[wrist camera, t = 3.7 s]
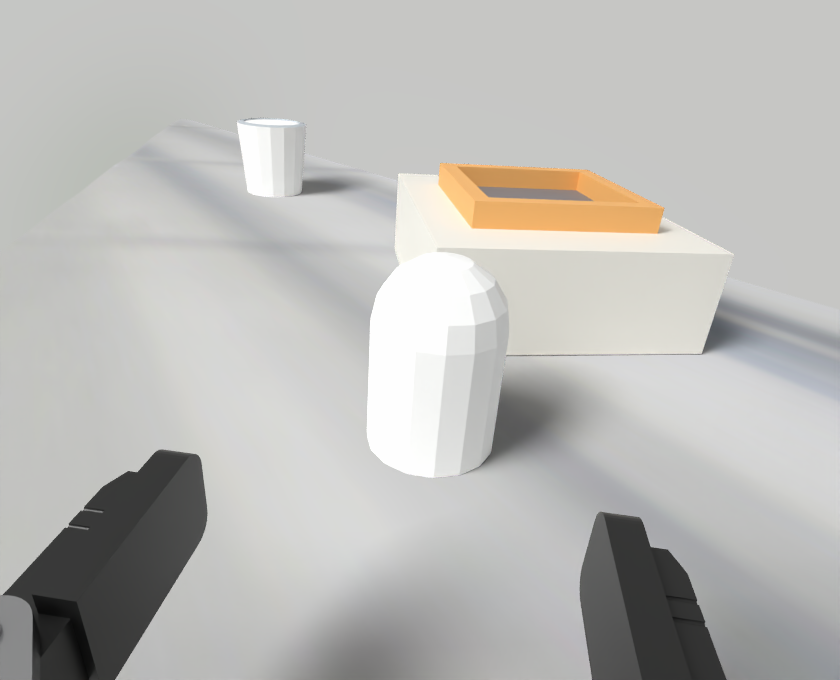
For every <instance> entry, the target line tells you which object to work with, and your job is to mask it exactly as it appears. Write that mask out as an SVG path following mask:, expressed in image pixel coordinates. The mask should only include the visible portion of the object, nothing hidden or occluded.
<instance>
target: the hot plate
mask: <svg viewBox="0 0 840 680" xmlns="http://www.w3.org/2000/svg"><path fill="white" fill-rule="evenodd" d="M663 211H664V207H661V206H659V205H657V204H655V203H653V202H651V201H649V200H647V199H645V198H643V197H641V196H639V195H637V194H635V193H633V192H631V191H629V190H627V189H625V188H623V187H621V186H619V185H617V184H615V183H613V182H611V181H609V180H607V179H605V178H603V177H601V176H599V175H597V174H595V173H593V172H590V171H588V170H579V169H578V170H577V169H557V168H535V167H514V166H492V165H470V164H449V163H448V164H447V163H440V171H439V175H424V174H401V173H399V174H398V192H397V212H396V231H395V252H396V255H397V258H398V261H399V265H402V264H404V263H406V262H409V261H411V260H413V259H415V258H417V257H419V256H421V255H423V254H426V253H432V252H448V253H455V254H459V255H463V256H466V257H468V258H470V259H472V260H473V261H474V262H476V263H477V264H479V265H480V266H482V267H483V268H484V269H486V270H487V271H489V272H490V273H491V274H492V275H493V276H494V278H495V279H496V280H497V282H498V284H499V286H500V288H501V290H502V291H503V293H504V295H505V297H506V299H507V300H508V313H509V339H508V346H507V352H506V355H624V354H702V351H703V348H704V345H705V342H706V339H707V336H708V333H709V330H710V327H711V324H712V321H713V318H714V315H715V312H716V309H717V306H718V303H719V300H720V297H721V294H722V291H723V288H724V285H725V282H726V279H727V276H728V273H729V270H730V267H731V263H732V260H733V257H734V254H733V253H731V252H729V251H727V250H725V249H723V248H721V247H719V246H717V245H716V244H714V243H712V242H710V241H708V240H706V239H704V238H702V237H700V236H698V235H696V234H694V233H692V232H690V231H689V230H687V229H685V228H683V227H681V226H679V225H677V224H675V223H673V222H672V221H670V220H668V219H666V218H664V217H662V215H663Z"/></svg>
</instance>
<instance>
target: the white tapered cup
mask: <svg viewBox="0 0 840 680" xmlns="http://www.w3.org/2000/svg"><path fill="white" fill-rule="evenodd" d="M237 126H238V133H239V139H240V145H241V152H242V158H243V164H244V171H245V177H246V183H247V189H248V192H249V193H251V194H254V195H258V196H264V197H288V196H295V195H298V194H300V193H301V192H302V180H303V165H304V150H305V134H306V124H304V123H301V122H297V121H293V120H286V119H275V118H251V119H243V120H239V121H237Z"/></svg>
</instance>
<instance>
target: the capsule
mask: <svg viewBox="0 0 840 680" xmlns="http://www.w3.org/2000/svg"><path fill="white" fill-rule="evenodd" d="M508 339H509V313H508V300H507V299H506V297H505V295H504V293H503V291H502V290H501V288H500V286H499V284H498V282H497V280H496V279H495V278H494V276H493V275H492V274H491V273H490V272H489V271H487V270H486V269H484V268H483V267H482V266H480V265H479V264H477V263H476V262H474V261H473V260H472V259H470V258H468V257H466V256H463V255H459V254H455V253H448V252H432V253H426V254H423V255H421V256H419V257H417V258H415V259H413V260H411V261H409V262H406V263H404V264H402V265H400V266H398V267H397V268H396V269H395V270H394V272H393V273H392V274H391V275H390V277H389V278H388V279H387V280H386V281H385V283H384V284H383V285H382V287H381V288H380V290H379V292H378V293H377V295H376V299H375V303H374V307H373V311H372V315H371V319H370V349H369V380H368V411H367V437H368V441H369V445H370V449H371V450H372V451H373V452H374V453H375V454H376V455H377V456H378V457H379V458H380V459H381V460H382V461H383V462H384V463H385V464H387V465H389V466H391V467H393V468H395V469H397V470H399V471H402V472H404V473H406V474H410V475H417V476H423V477H429V478H440V477H449V476H459V475H462V474H464V473H466V472H468V471H470V470H473V469H475V468H477V467H479V466H480V465H481V464H482V463H483V462H484V461H485V459H486V458H487V457H488V456H489V455H490V454H491V449H492V443H493V436H494V430H495V423H496V417H497V410H498V404H499V397H500V391H501V384H502V378H503V371H504V365H505V358H506V352H507V346H508Z"/></svg>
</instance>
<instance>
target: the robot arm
mask: <svg viewBox="0 0 840 680" xmlns="http://www.w3.org/2000/svg"><path fill="white" fill-rule="evenodd" d="M206 522H207V504H206V496H205V488H204V480H203V472H202V464H201V460H200V457H199V456H198V455H196V454H190V453H183V452H176V451H169V450H158V451H157V452H155V453H154V454H153V455H152V456H151V457H150V459H149V460H148V461H147V462H146V463H145V464H144V466H143V467H142V468H141V469H140V470H139V471H138V472H130V471H128V472H126V473H124V474H123V475H121V476H120V477H118V478H116V479H115V480H113V481H111V482H110V483H108V484H107V485H105V486H103V487H102V488H101V489H100V490H99V491H98V492H97V494H96V495H95V496H94V497H93V498H92V499H91V500H90V501H89V502H88V503H87V504H86V505H85V507H84V510H83V511H80V512H79V513H78V514H77V515H76V516H75V517H74V518H73V520H72V521H71V522H70V523H69V526H68V528H64V529H63V530H62V532H61V533H60V534H59V535H58V536H57V537H56V538H55V539H54V540H53V541H52V542H51V543H50V545H49V546H48V547H47V548H46V549H45V550H44V551H43V552H42V553H41V554H40V555H39V556H38V558H37V559H36V560H35V561H34V562H33V563H32V564H31V565H30V566H29V567H28V568H27V569H26V571H25V572H24V573H23V574H22V575H21V576H20V577H19V578H18V579H17V580H16V581H15V583H14V584H13V585H12V586H11V587H10V588H9V589H8V590H7V591H6V592H5V593H4V594H3V595H1V596H0V680H115V679H116V677H117V676H118V674H119V672H120V671H121V669H122V667H123V666H124V664H125V663H126V661H127V659H128V658H129V656H130V654H131V653H132V651H133V650H134V648H135V646H136V645H137V643H138V642H139V640H140V638H141V637H142V635H143V633H144V632H145V630H146V629H147V627H148V625H149V624H150V622H151V620H152V619H153V617H154V616H155V614H156V612H157V611H158V609H159V607H160V606H161V604H162V603H163V601H164V599H165V598H166V596H167V594H168V593H169V591H170V590H171V588H172V586H173V585H174V583H175V581H176V580H177V578H178V577H179V575H180V573H181V572H182V570H183V568H184V567H185V565H186V564H187V562H188V560H189V559H190V557H191V555H192V554H193V552H194V551H195V549H196V547H197V546H198V544H199V542H200V541H201V538H202V536H203V533H204V530H205V527H206ZM580 601H581V608H582V615H583V622H584V628H585V635H586V641H587V648H588V655H589V661H590V668H591V674H592V680H726V678H725V675H724V672H723V669H722V667H721V664H720V661H719V658H718V656H717V653H716V650H715V648H714V645H713V642H712V639H711V637H710V634H709V631H708V628H707V627H705V620H704V618H703V615H702V612H701V609H700V607H699V605H697V598H696V596H695V593H694V590H693V588H692V585H691V582H690V579H689V577H688V574H687V573H686V571H685V570H684V569H683V568H682V566H681V565H680V564H679V563H678V562H677V560H676V559H675V558H674V557H673V555H672V554H671V553H670V552H669V551H668V550H666V549H659V548H652V547H650V544H649V541H648V538H647V534H646V531H645V528H644V525H643V522H642V520H641V519H640V518H639V517H633V516H626V515H619V514H612V513H605V512H599V513H598V514H597V516H596V519H595V522H594V526H593V529H592V533H591V537H590V540H589V544H588V547H587V551H586V555H585V558H584V562H583V565H582V570H581V577H580Z"/></svg>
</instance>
